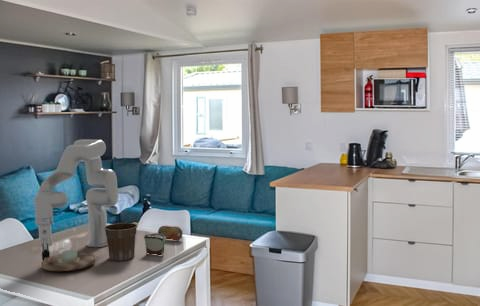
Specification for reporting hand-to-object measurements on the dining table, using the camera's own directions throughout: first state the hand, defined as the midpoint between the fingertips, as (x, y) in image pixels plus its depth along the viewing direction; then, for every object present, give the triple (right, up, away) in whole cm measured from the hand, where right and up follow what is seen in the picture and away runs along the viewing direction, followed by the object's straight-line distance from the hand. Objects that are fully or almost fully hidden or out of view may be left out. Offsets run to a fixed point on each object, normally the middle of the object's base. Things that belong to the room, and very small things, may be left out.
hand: (46, 259), depth 214 cm
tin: (+51, -1, +49) cm, 70 cm away
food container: (+48, -3, +23) cm, 53 cm away
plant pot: (+31, -3, +17) cm, 35 cm away
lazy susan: (+9, -3, +4) cm, 10 cm away
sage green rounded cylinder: (+10, -1, +3) cm, 10 cm away
